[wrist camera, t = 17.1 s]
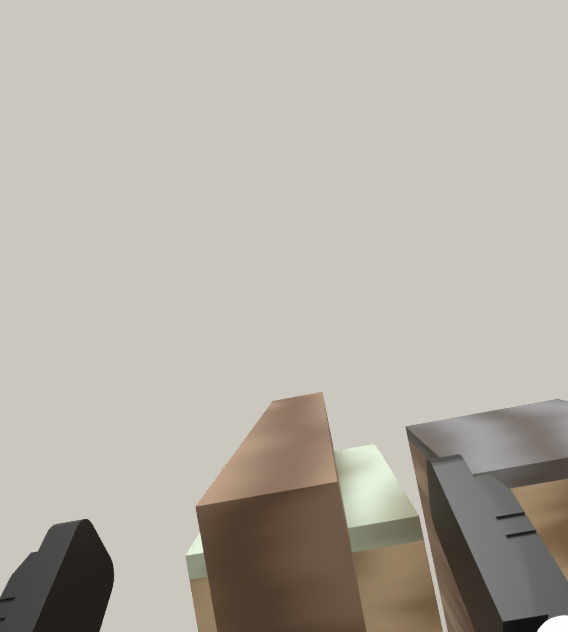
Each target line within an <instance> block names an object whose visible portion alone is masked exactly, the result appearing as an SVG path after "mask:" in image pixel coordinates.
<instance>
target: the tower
mask: <svg viewBox="0 0 568 632" xmlns="http://www.w3.org/2000/svg"><path fill="white" fill-rule="evenodd" d="M334 455H335V460H336V466H337V471H338V477H339V482H340V488H341V493H342V499H343V504H344V510H345V515H346V521H347V526H348V532H349V537H350V543H351V548H352V554H353V559H354V565H355V570H356V576H357V581H358V587H359V592H360V598H361V603H362V609H363V614H364V620H365V626H366V631H367V632H443V630H442V625H441V621H440V616H439V611H438V606H437V601H436V596H435V591H434V586H433V582H432V577H431V572H430V567H429V562H428V557H427V553H426V548H425V543H424V538H423V534H422V528H421V523H420V519H419V515H418V514H417V512H416V510H415V509H414V507H413V505H412V504H411V502H410V501H409V499H408V497H407V496H406V494H405V492H404V491H403V490H402V487H401V486H400V484H399V483H398V481H397V479H396V478H395V476H394V474H393V473H392V471H391V470H390V468H389V466H388V465H387V463H386V461H385V460H384V458H383V457H382V455H381V453H380V452H379V450H378V448H377V447H376V445H375V444H372V445H366V446H361V447H356V448H350V449H344V450H339V451H334ZM186 561H187V567H188V573H189V579H190V585H191V591H192V597H193V602H194V608H195V614H196V620H197V626H198V632H217V628H216V622H215V616H214V610H213V605H212V599H211V593H210V587H209V581H208V576H207V570H206V564H205V558H204V552H203V547H202V541H201V535H200V533H199V534H198V536H197V538H196V539H195V541H194V543H193V544H192V546H191V548H190V549H189V551H188V553H187V554H186Z"/></svg>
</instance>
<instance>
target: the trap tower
mask: <svg viewBox="0 0 568 632" xmlns="http://www.w3.org/2000/svg"><path fill="white" fill-rule="evenodd" d="M406 431H407V436H408V441H409V446H410V451H411V455H412V460H413V465H414V470H415V475H416V480H417V484H418V489H419V494H420V499H421V504H422V509H423V513H424V518H425V523H426V528H427V533H428V538H429V542H430V547H431V552H432V557H433V562H434V566H435V571H436V576H437V581H438V586H439V591H440V595H441V600H442V605H443V609H444V615H445V619H446V624H447V629H448V632H475V630H474V628H473V625H472V623H471V620H470V618H469V615H468V612H467V610H466V607H465V605H464V602H463V600H462V597H461V595H460V592H459V590H458V587H457V584H456V582H455V579H454V577H453V574H452V572H451V569H450V567H449V564H448V562H447V559H446V556H445V554H444V551H443V549H442V546H441V544H440V541H439V539H438V536H437V533H436V530H435V527H434V524H433V520H432V516H431V511H430V504H429V492H428V479H427V467H426V462H427V460H428V459H434V458H440V457H445V456H451V455H456V454H460V455H461V456H462V457H463V459H464V460H465V462H466V464H467V466H468V468H469V469H470V471H471V473H472V475H473V477H476V476H481V475H487V474H491V475H493V476H494V477H495V478H496V479H498V480H499V481H500V482H501V483H503V484H504V485H505V486H506V487H508V488H509V489H510V490H511V491H512V492H513V494H514V495H515V497H516V499H517V500H518V502H519V503H520V505H521V507H522V508H523V510H524V511H525V515H526V516H528V518H529V520H530V521H531V523H532V524H533V526H534V528H535V529H536V532H537V534H538V535H539V536H540V537H541V539H542V540H543V542H544V544H545V545H546V547H547V548H548V550H549V552H550V553H551V555H552V556H553V558H554V560H555V561H556V563H557V564H558V566H559V568H560V569H561V571H562V573H563V574H564V576H565V577H566V579H567V581H568V401H564V400H559V399H555V400H550V401H545V402H539V403H533V404H528V405H522V406H517V407H511V408H506V409H500V410H495V411H489V412H484V413H478V414H472V415H467V416H462V417H456V418H451V419H445V420H440V421H434V422H428V423H423V424H417V425H412V426H406Z"/></svg>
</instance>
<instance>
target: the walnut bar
mask: <svg viewBox="0 0 568 632" xmlns="http://www.w3.org/2000/svg"><path fill="white" fill-rule="evenodd" d="M196 512H197V518H198V524H199V529H200V535H201V541H202V547H203V552H204V558H205V564H206V570H207V576H208V581H209V587H210V593H211V599H212V605H213V610H214V616H215V622H216V628H217V632H367V631H366V626H365V620H364V614H363V609H362V603H361V598H360V592H359V587H358V581H357V576H356V570H355V565H354V559H353V554H352V548H351V543H350V537H349V532H348V526H347V521H346V515H345V510H344V504H343V499H342V493H341V488H340V482H339V477H338V471H337V466H336V460H335V455H334V450H333V444H332V439H331V433H330V428H329V423H328V418H327V413H326V408H325V403H324V397H323V393H322V392H319V393H314V394H309V395H303V396H298V397H293V398H287V399H282V400H277V401H273V402H272V403H271V404H270V405H269V407H268V408H267V410H266V411H265V413H264V414H263V415H262V417H261V418H260V419H259V421H258V422H257V423H256V425H255V426H254V427H253V429H252V430H251V431H250V433H249V434H248V436H247V437H246V438H245V440H244V441H243V443H242V444H241V445H240V447H239V448H238V449H237V451H236V452H235V453H234V455H233V456H232V458H231V459H230V460H229V462H228V463H227V464H226V466H225V467H224V468H223V470H222V471H221V472H220V474H219V475H218V477H217V478H216V479H215V481H214V482H213V483H212V485H211V486H210V488H209V489H208V490H207V492H206V493H205V494H204V496H203V497H202V499H201V500H200V501H199V503H198V504H197V505H196Z"/></svg>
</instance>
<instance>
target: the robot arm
mask: <svg viewBox="0 0 568 632" xmlns="http://www.w3.org/2000/svg"><path fill="white" fill-rule="evenodd" d="M426 467H427V479H428V492H429V504H430V511H431V516H432V520H433V524H434V527H435V530H436V533H437V536H438V539H439V541H440V544H441V546H442V549H443V551H444V554H445V556H446V559H447V562H448V564H449V567H450V569H451V572H452V574H453V577H454V579H455V582H456V584H457V587H458V590H459V592H460V595H461V597H462V600H463V602H464V605H465V607H466V610H467V612H468V615H469V618H470V620H471V623H472V625H473V628H474V630H475V632H568V581H567V579H566V577H565V576H564V574H563V573H562V571H561V569H560V568H559V566H558V564H557V563H556V561H555V560H554V558H553V556H552V555H551V553H550V552H549V550H548V548H547V547H546V545H545V544H544V542H543V540H542V539H541V537H540V536H539V535H538V534H537V532H536V529H535V528H534V526H533V524H532V523H531V521H530V520H529V518H528V516H526V515H525V511H524V510H523V508H522V507H521V505H520V503H519V502H518V500H517V499H516V497H515V495H514V494H513V492H512V491H511V490H510V489H509V488H508V487H506V486H505V485H504V484H503V483H501V482H500V481H499V480H498V479H496V478H495V477H494V476H493V475H491V474H487V475H481V476H476V477H473V475H472V473H471V471H470V469H469V468H468V466H467V464H466V462H465V460H464V459H463V457H462V456H461V455H460V454H456V455H451V456H445V457H440V458H434V459H428V460H427V462H426ZM113 582H114V568H113V563H112V560H111V558H110V556H109V554H108V552H107V551H106V548H105V547H104V545H103V543H102V541H101V539H100V537H99V535H98V534H97V532H96V530H95V528H94V526H93V524H92V523H91V522H90V521H89V520H88V519H83V520H77V521H71V522H66V523H60V524H55V525H53V526H52V527H51V528H50V529H49V530H48V532H47V534H46V536H45V538H44V540H43V542H42V545H41V546H40V548H39V550H38V552H33V553H31V554H30V555H29V556H28V557H27V558H26V559H25V561H24V562H23V563H22V564H21V565H20V566H19V567H18V568H17V570H16V571H15V572H14V573H13V574H12V576H11V578H10V579H9V581H8V583H7V585H6V587H5V589H4V591H3V593H2V595H1V597H0V632H99V631H100V628H101V625H102V621H103V618H104V615H105V611H106V608H107V605H108V601H109V598H110V595H111V591H112V588H113Z"/></svg>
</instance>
